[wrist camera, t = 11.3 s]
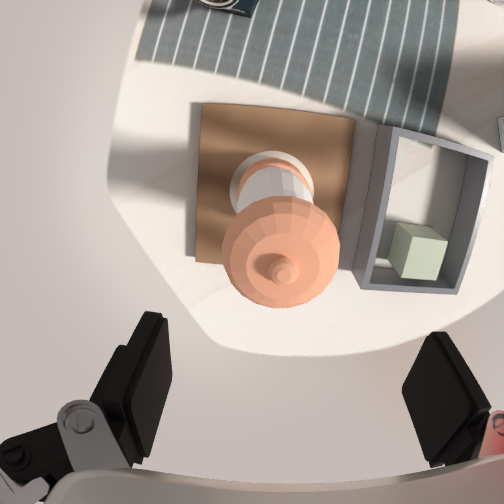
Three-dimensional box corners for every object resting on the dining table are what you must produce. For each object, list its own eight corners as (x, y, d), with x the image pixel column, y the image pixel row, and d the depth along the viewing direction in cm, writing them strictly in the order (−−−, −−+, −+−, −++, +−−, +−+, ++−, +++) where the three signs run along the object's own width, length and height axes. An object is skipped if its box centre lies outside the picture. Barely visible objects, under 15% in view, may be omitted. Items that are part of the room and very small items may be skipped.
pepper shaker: (273, 236, 36) (282, 351, 19) (224, 192, 34) (185, 276, 17) (320, 191, 34) (379, 273, 17) (272, 143, 32) (285, 175, 15)
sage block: (396, 221, 37) (412, 236, 32) (429, 226, 37) (448, 241, 32) (387, 259, 39) (401, 277, 34) (419, 262, 39) (436, 280, 34)
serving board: (204, 103, 32) (202, 103, 31) (352, 119, 32) (355, 119, 31) (197, 257, 39) (195, 262, 38) (328, 269, 39) (330, 274, 38)
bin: (377, 124, 32) (392, 126, 28) (473, 150, 32) (494, 155, 28) (351, 271, 39) (360, 289, 35) (442, 278, 39) (457, 294, 35)
